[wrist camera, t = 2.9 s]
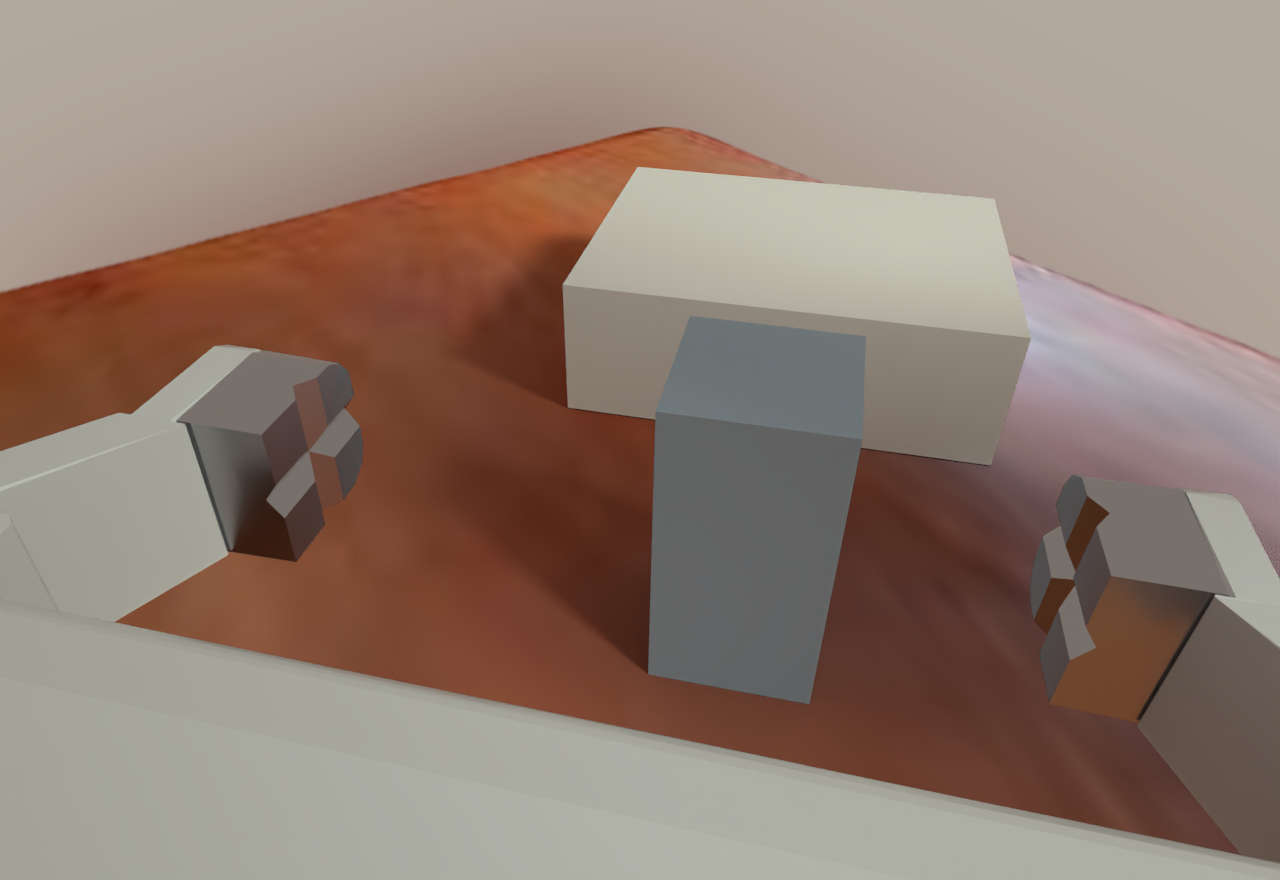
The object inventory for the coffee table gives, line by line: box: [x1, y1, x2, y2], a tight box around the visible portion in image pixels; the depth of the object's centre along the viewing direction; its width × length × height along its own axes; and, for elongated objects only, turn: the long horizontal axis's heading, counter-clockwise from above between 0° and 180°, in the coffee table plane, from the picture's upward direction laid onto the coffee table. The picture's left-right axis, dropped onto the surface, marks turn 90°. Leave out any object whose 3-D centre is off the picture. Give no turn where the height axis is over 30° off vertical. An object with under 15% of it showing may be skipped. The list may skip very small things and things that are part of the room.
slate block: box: [648, 316, 866, 704], centre depth 26 cm, size 5×5×10 cm
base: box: [563, 167, 1031, 465], centre depth 42 cm, size 18×14×6 cm
